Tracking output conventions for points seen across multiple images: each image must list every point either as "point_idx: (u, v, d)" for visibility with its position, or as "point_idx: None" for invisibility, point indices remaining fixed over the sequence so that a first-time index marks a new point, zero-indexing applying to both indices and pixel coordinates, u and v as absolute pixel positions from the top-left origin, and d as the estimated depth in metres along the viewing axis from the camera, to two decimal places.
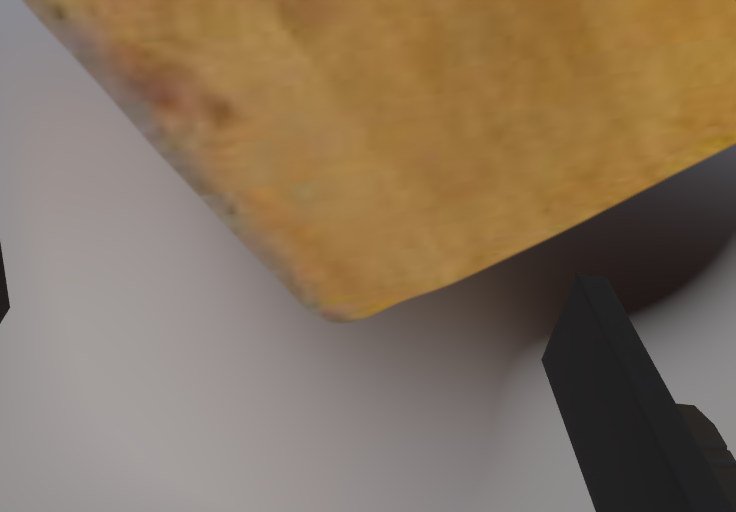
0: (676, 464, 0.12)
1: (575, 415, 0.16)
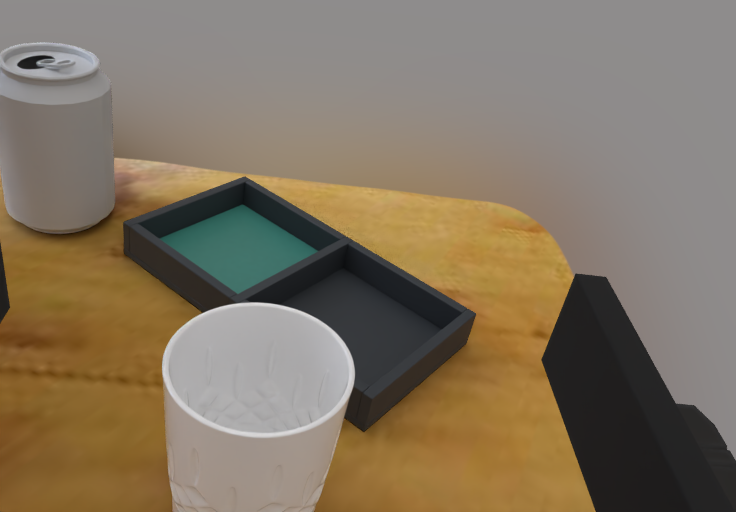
0: (676, 464, 0.12)
1: (575, 415, 0.16)
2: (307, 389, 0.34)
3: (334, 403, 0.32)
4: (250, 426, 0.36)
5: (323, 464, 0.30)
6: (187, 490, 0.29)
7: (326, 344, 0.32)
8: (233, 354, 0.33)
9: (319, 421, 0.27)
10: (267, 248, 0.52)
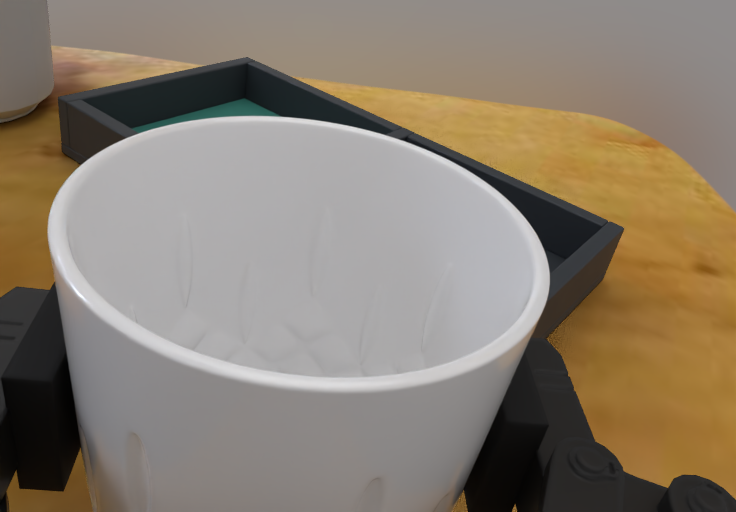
0: None
1: None
2: (395, 316, 0.16)
3: (471, 334, 0.14)
4: None
5: (467, 474, 0.12)
6: None
7: (448, 203, 0.14)
8: (238, 240, 0.15)
9: (494, 348, 0.09)
10: None
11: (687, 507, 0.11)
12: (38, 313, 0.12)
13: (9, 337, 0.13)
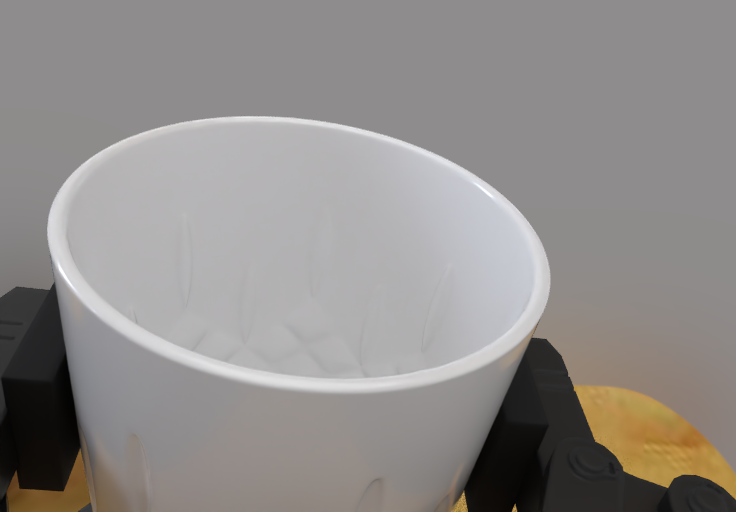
0: None
1: None
2: (395, 317, 0.16)
3: (471, 335, 0.14)
4: None
5: (467, 475, 0.12)
6: None
7: (449, 203, 0.14)
8: (238, 240, 0.15)
9: (494, 349, 0.09)
10: None
11: (687, 507, 0.11)
12: (38, 313, 0.12)
13: (9, 337, 0.13)
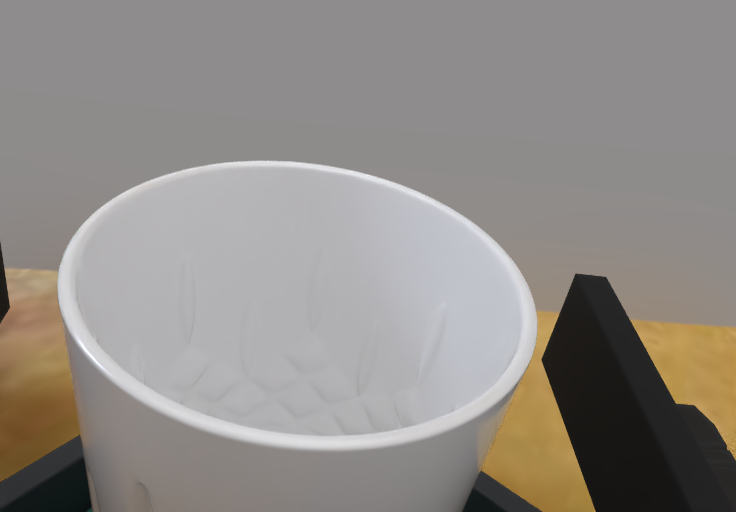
0: (676, 464, 0.12)
1: (575, 415, 0.16)
2: (391, 351, 0.16)
3: (464, 372, 0.14)
4: (273, 429, 0.18)
5: None
6: None
7: (442, 245, 0.15)
8: (239, 278, 0.16)
9: (482, 403, 0.10)
10: None
11: None
12: None
13: None
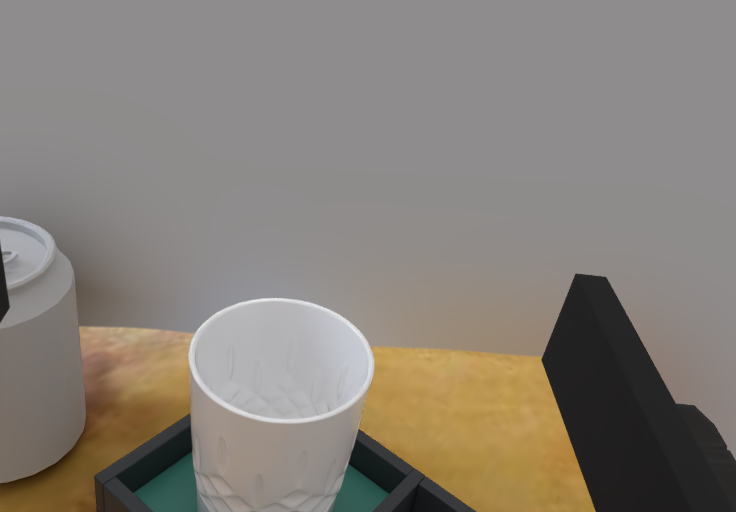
0: (676, 464, 0.12)
1: (575, 415, 0.16)
2: (326, 383, 0.35)
3: (354, 394, 0.32)
4: None
5: (345, 452, 0.31)
6: (213, 480, 0.30)
7: (345, 337, 0.33)
8: (254, 349, 0.34)
9: (342, 408, 0.28)
10: None
11: None
12: None
13: None
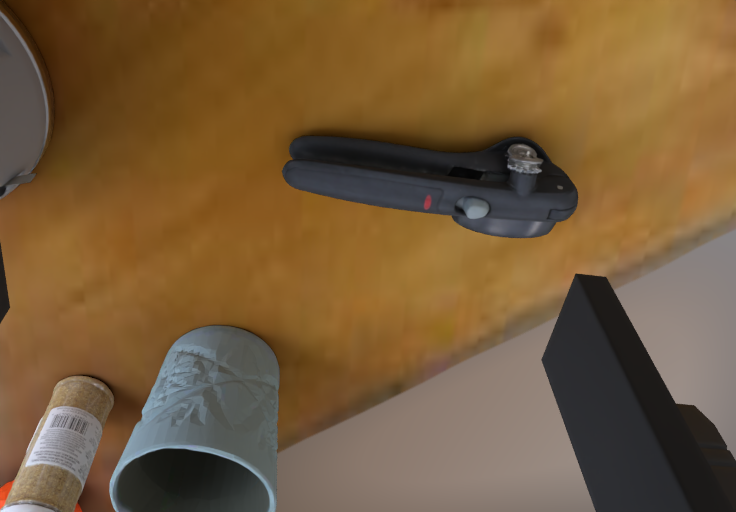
0: (676, 464, 0.12)
1: (575, 415, 0.16)
2: None
3: None
4: None
5: None
6: None
7: None
8: None
9: None
10: None
11: None
12: None
13: None
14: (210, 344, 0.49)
